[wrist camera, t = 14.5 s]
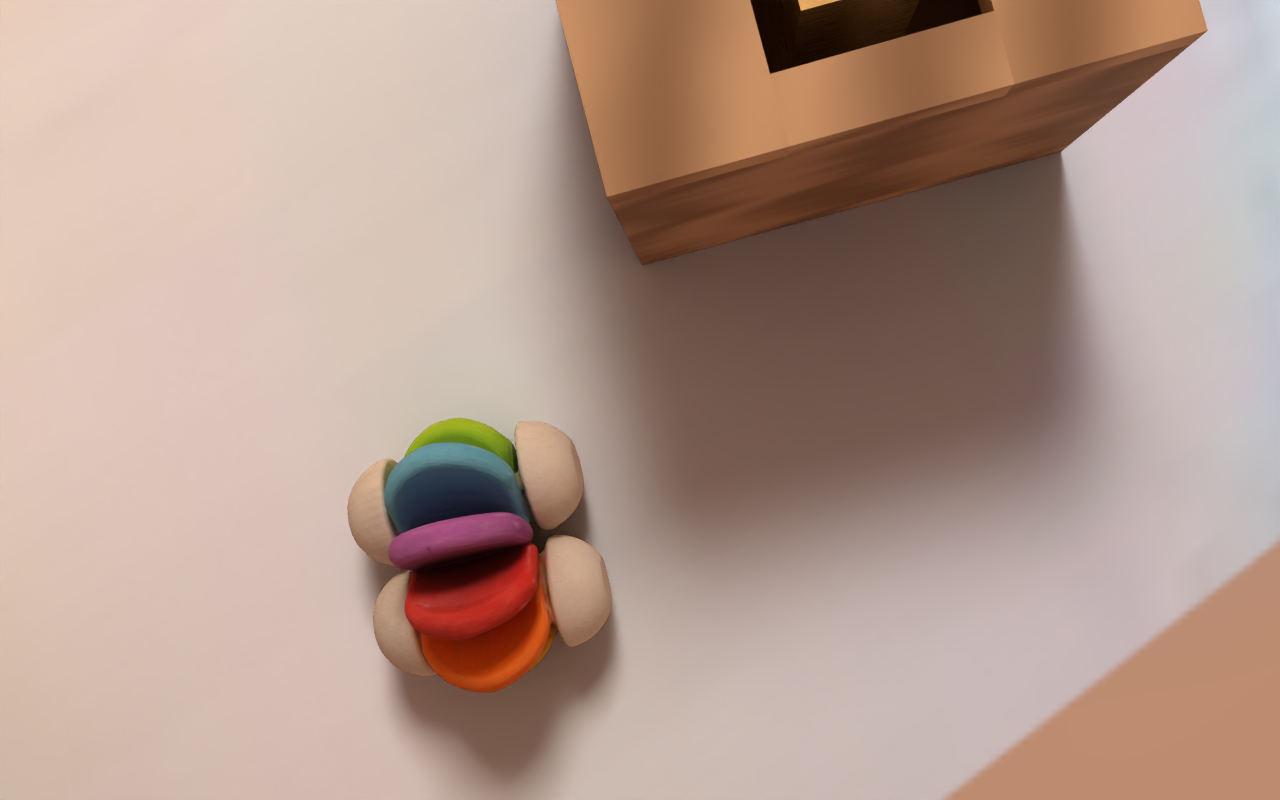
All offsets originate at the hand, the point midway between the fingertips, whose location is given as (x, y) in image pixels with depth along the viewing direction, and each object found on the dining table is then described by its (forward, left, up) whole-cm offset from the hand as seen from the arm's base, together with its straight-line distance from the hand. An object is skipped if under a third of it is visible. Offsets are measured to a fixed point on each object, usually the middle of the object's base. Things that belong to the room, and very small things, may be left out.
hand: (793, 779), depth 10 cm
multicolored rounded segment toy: (-9, +1, -30) cm, 32 cm away
